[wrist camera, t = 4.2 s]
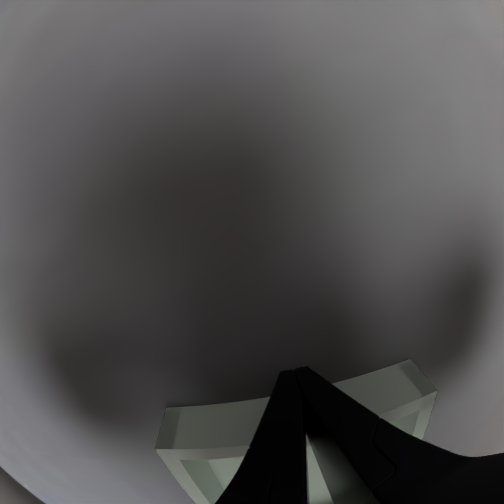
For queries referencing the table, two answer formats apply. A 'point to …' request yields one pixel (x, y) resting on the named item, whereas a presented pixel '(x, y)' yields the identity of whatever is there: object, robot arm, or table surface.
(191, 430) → the tray
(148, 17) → the table surface
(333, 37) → the table surface
